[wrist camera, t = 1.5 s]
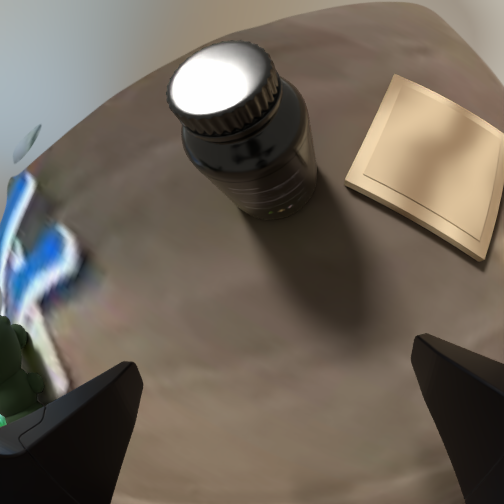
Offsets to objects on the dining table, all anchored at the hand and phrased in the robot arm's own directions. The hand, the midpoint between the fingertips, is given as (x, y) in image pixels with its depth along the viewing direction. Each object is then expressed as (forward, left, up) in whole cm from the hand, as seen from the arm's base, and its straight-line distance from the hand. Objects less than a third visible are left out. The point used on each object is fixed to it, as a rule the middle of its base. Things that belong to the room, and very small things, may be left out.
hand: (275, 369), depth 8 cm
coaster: (-3, -16, -12) cm, 20 cm away
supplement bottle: (+8, -8, -12) cm, 16 cm away
